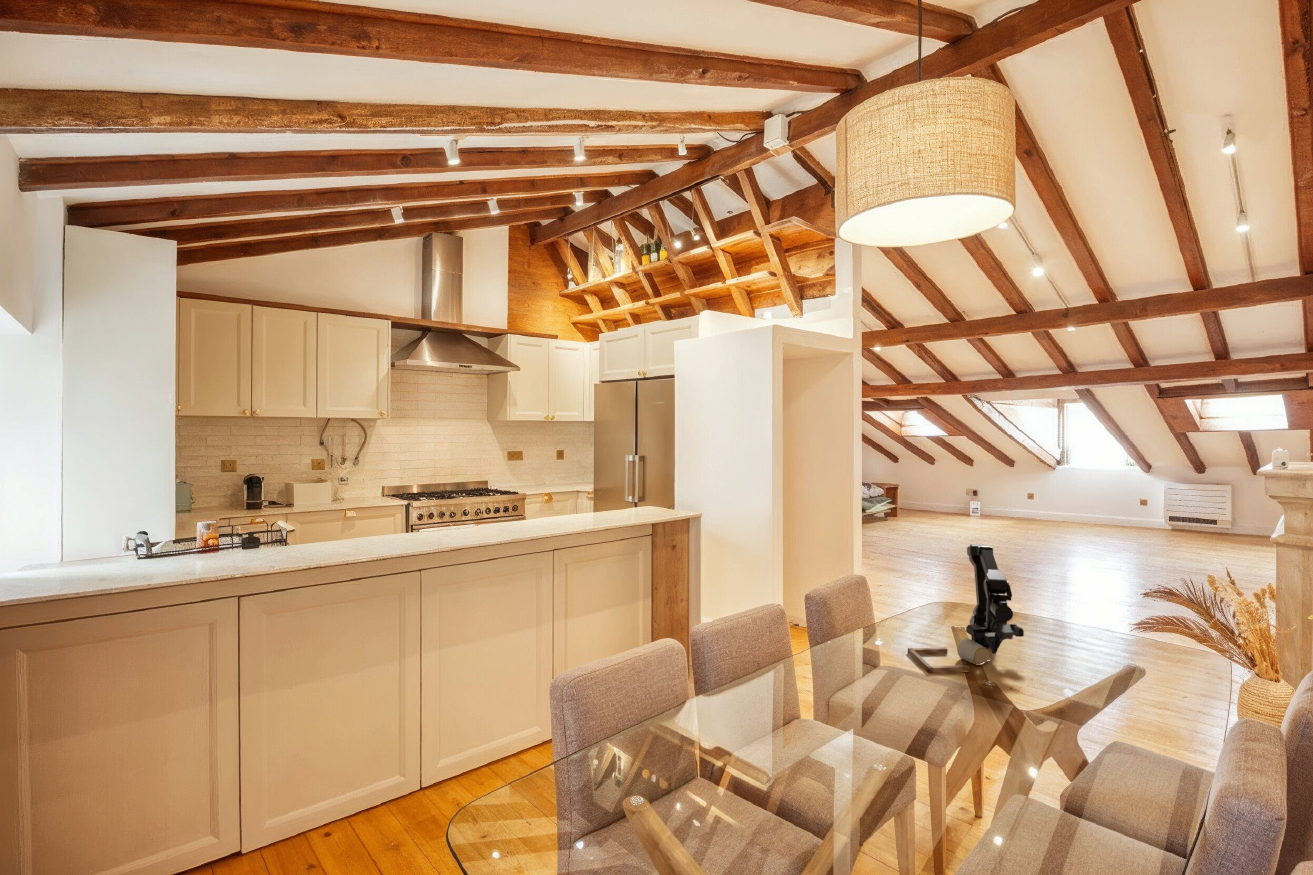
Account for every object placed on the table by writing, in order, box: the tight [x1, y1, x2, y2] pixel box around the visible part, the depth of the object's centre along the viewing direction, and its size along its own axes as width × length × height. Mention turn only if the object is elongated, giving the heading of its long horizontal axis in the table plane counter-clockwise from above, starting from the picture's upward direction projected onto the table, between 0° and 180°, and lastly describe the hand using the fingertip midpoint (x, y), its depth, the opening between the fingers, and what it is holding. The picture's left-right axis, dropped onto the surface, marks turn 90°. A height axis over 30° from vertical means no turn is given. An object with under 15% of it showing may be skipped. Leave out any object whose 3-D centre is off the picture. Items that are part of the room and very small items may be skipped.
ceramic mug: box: [956, 638, 992, 665], centre depth 231 cm, size 11×8×8 cm
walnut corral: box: [907, 646, 970, 675], centre depth 231 cm, size 14×17×2 cm
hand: (993, 653), depth 232 cm, fingers closed
